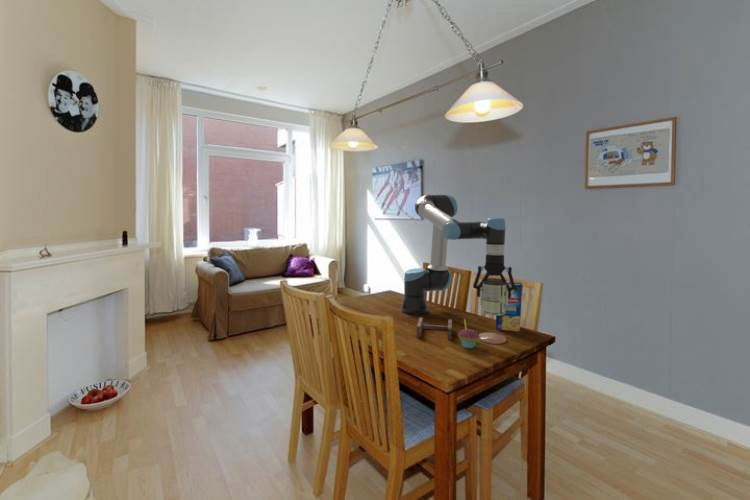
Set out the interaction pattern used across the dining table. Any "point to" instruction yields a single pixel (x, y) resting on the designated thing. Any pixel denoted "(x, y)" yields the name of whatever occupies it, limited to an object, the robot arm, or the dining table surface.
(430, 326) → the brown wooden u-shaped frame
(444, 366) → the dining table surface
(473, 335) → the cupcake
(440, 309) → the dining table surface
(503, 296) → the coffee can
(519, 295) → the blue cardboard box
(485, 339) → the coaster
